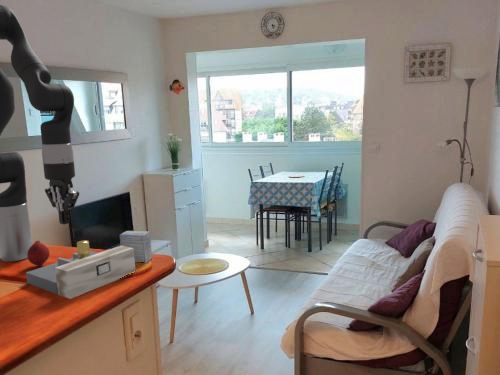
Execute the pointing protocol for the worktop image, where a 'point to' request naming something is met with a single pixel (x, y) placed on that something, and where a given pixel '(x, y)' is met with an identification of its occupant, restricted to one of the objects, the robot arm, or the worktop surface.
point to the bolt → (85, 252)
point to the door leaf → (49, 274)
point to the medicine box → (138, 244)
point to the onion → (38, 253)
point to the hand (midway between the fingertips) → (64, 223)
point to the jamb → (94, 271)
